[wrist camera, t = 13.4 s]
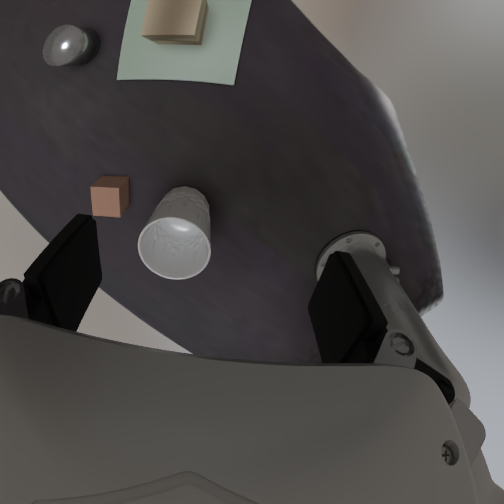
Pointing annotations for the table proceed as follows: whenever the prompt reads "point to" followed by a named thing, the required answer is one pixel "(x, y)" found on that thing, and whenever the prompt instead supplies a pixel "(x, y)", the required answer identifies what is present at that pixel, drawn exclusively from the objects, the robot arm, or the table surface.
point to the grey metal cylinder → (71, 46)
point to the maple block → (175, 21)
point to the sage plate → (186, 47)
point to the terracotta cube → (110, 196)
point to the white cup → (177, 235)
